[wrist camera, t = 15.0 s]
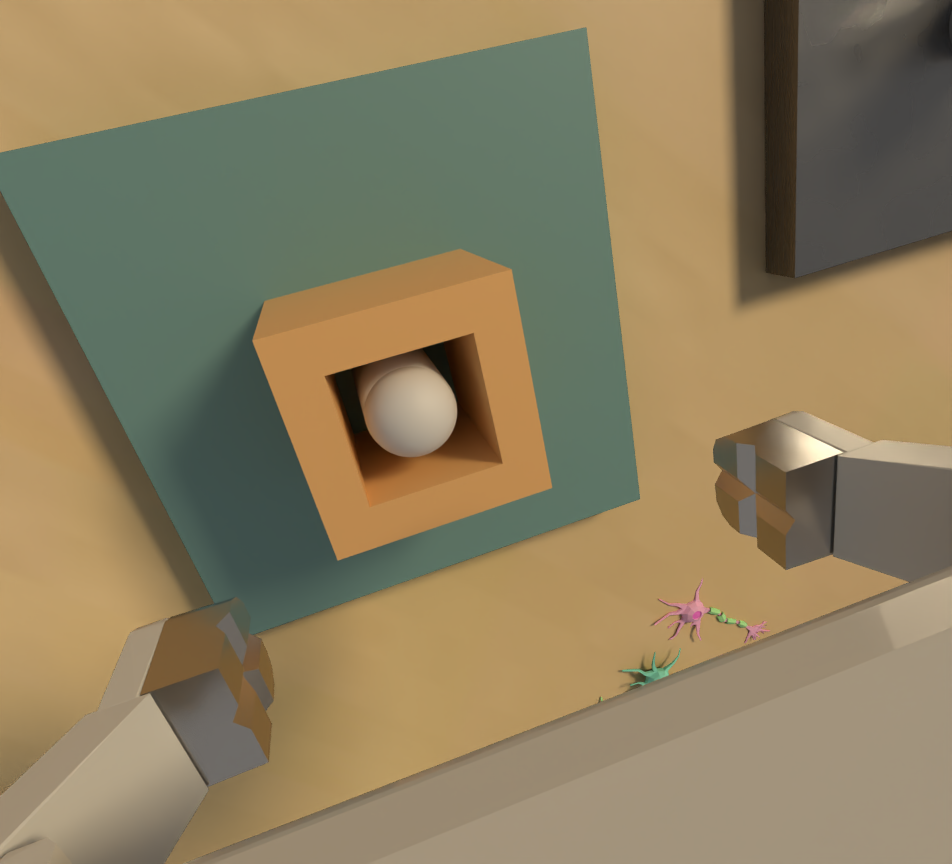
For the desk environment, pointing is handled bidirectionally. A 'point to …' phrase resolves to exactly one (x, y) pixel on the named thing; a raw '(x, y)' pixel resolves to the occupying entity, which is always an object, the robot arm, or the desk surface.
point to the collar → (389, 334)
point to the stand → (855, 129)
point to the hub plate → (327, 261)
